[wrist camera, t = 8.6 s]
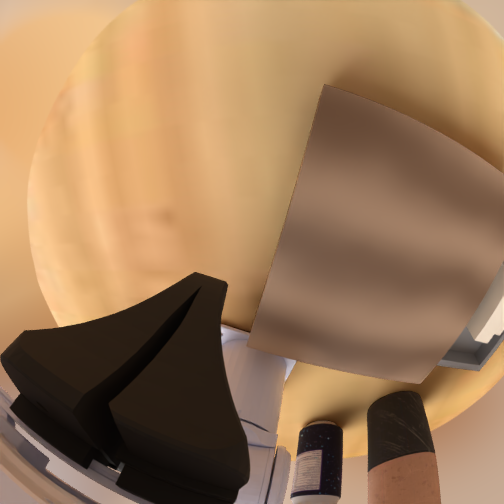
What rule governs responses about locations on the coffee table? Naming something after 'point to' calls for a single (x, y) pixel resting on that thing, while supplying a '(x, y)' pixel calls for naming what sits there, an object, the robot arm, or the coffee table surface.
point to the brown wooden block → (380, 245)
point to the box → (470, 352)
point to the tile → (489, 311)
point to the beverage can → (318, 464)
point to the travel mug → (401, 452)
